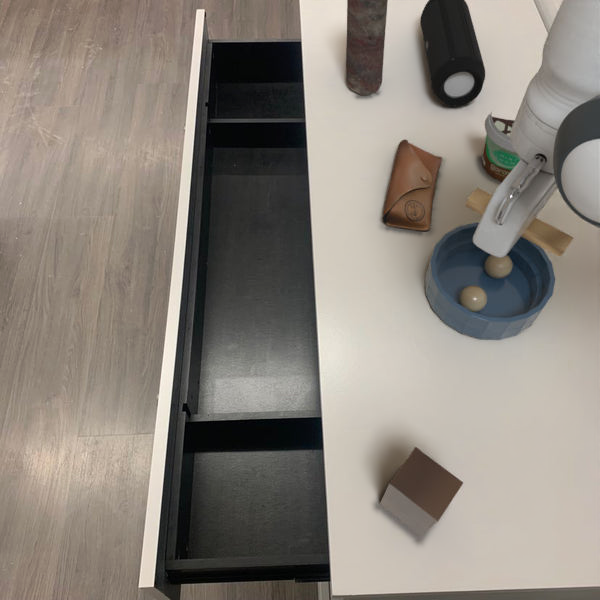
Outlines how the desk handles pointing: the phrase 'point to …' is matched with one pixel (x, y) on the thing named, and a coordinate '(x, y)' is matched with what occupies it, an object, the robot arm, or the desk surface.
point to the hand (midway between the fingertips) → (517, 223)
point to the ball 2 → (498, 266)
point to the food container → (498, 148)
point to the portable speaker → (452, 52)
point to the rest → (420, 492)
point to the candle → (365, 44)
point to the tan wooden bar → (536, 230)
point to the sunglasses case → (411, 188)
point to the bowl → (488, 285)
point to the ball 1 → (473, 298)
